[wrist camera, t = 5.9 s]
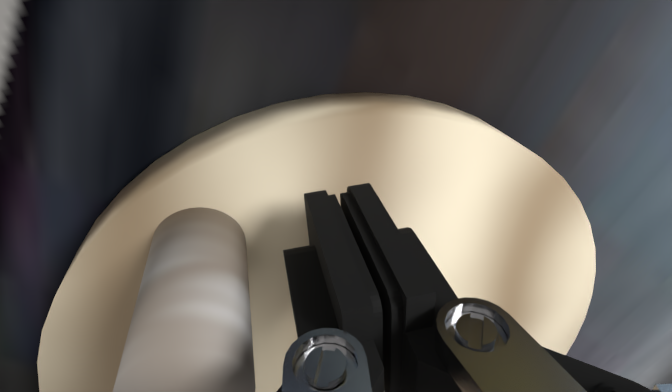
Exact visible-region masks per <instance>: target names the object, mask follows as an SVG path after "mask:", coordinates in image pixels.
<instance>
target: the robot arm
mask: <svg viewBox="0 0 672 392" xmlns="http://www.w3.org/2000/svg"><path fill="white" fill-rule="evenodd" d="M304 202H305V210H306V219H307V228H308V236H309V245H308V246H303V247H297V248H292V249H286V250H283V254H284V260H285V267H286V273H287V279H288V285H289V291H290V297H291V303H292V309H293V314H294V320H295V326H296V331H297V337H298V339H297V340H296V341H294V342H293V343H292V344H291V346H290V347H289V349H288V351H287V352H286V354H285V359H284V363H283V376H282V385H281V386H280V388H279V389H278V390H277V392H672V384H655V386H654V387H653V389H652V390H650V389H648V388H646V387H644V386H642V385H640V384H638V383H636V382H634V381H631V380H629V379H626V378H623V377H621V376H618V375H616V374H613V373H610V372H608V371H605V370H603V369H600V368H597V367H595V366H592V365H589V364H587V363H584V362H582V361H579V360H576V359H574V358H571V357H568V356H566V355H563V354H561V353H558V352H555V351H553V350H550V349H547V348H545V347H542V346H541V345H540V344H539V343H538V342H537V341H536V340H535V339H534V338H533V337H532V336H531V335H530V334H529V333H528V332H527V331H526V330H525V329H524V328H523V327H522V326H521V325H520V324H519V323H518V322H517V321H516V320H515V319H514V318H513V317H512V316H511V315H510V314H509V313H507V312H506V311H505V310H503V309H502V308H501V307H500V306H498V305H496V304H494V303H492V302H490V301H487V300H483V299H479V298H469V297H463V298H458V297H457V296H456V294H455V293H454V291H453V290H452V288H451V286H450V285H449V283H448V282H447V280H446V279H445V277H444V276H443V274H442V273H441V271H440V270H439V268H438V267H437V265H436V264H435V262H434V261H433V259H432V258H431V256H430V255H429V253H428V252H427V250H426V249H425V247H424V246H423V244H422V243H421V241H420V240H419V238H418V237H417V235H416V234H415V232H414V231H413V230H412V229H411V228H409V227H406V228H400V229H398V228H397V227H396V225H395V223H394V222H393V220H392V218H391V217H390V215H389V213H388V212H387V210H386V209H385V207H384V205H383V204H382V202H381V200H380V199H379V197H378V195H377V194H376V192H375V191H374V189H373V187H372V186H371V184H370V183H365V184H359V185H353V186H348V187H347V192H345V193H341V194H340V204H339V202H338V199H337V197H336V195H335V194H333V195H328V194H327V191H326V190H322V191H316V192H310V193H304ZM340 205H341V206H340Z"/></svg>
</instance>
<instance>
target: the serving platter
mask: <svg viewBox="0 0 672 392" xmlns="http://www.w3.org/2000/svg"><path fill="white" fill-rule="evenodd" d="M365 183H370V184H371V186H372V187H373V189H374V191H375V192H376V194H377V195H378V197H379V199H380V200H381V202H382V204H383V205H384V207H385V209H386V210H387V212H388V213H389V215H390V217H391V218H392V220H393V222H394V223H395V225H396V227H397V228H398V229H400V228H406V227H409V228H411V229H412V230H413V231H414V232H415V234H416V235H417V237H418V238H419V240H420V241H421V243H422V244H423V246H424V247H425V249H426V250H427V252H428V253H429V255H430V256H431V258H432V259H433V261H434V262H435V264H436V265H437V267H438V268H439V270H440V271H441V273H442V274H443V276H444V277H445V279H446V280H447V282H448V283H449V285H450V286H451V288H452V290H453V291H454V293H455V294H456V296H457V297H458V298H463V297H469V298H479V299H483V300H487V301H490V302H492V303H494V304H496V305H498V306H500V307H501V308H502V309H503V310H505V311H506V312H507V313H509V314H510V315H511V316H512V317H513V318H514V319H515V320H516V321H517V322H518V323H519V324H520V325H521V326H522V327H523V328H524V329H525V330H526V331H527V332H528V333H529V334H530V335H531V336H532V337H533V338H534V339H535V340H536V341H537V342H538V343H539V344H540V345H541V346H542V347H545V348H547V349H550V350H553V351H555V352H558V353H561V354H563V355H566V354H567V352H568V351H569V349H570V347H571V346H572V344H573V342H574V341H575V339H576V337H577V334H578V332H579V330H580V328H581V326H582V324H583V321H584V319H585V317H586V314H587V310H588V307H589V304H590V300H591V297H592V293H593V286H594V280H595V273H596V261H595V245H594V240H593V235H592V230H591V226H590V223H589V220H588V218H587V216H586V214H585V211H584V209H583V207H582V204H581V202H580V200H579V199H578V197H577V196H576V195H575V193H574V192H573V190H572V189H571V188H570V186H569V185H568V184H567V182H566V181H565V179H564V178H563V177H562V176H561V175H559V174H558V173H557V172H556V171H555V170H554V169H553V168H552V167H551V166H550V165H549V164H548V163H546V162H545V161H544V160H543V159H542V158H541V157H539V156H538V155H536V154H535V153H533V152H531V151H530V150H528V149H527V148H525V147H524V146H522V145H521V144H519V143H518V142H516V141H515V140H513V139H512V138H510V137H508V136H507V135H505V134H504V133H502V132H501V131H499V130H497V129H496V128H494V127H492V126H491V125H489V124H488V123H486V122H484V121H483V120H481V119H479V118H478V117H476V116H473V115H471V114H468V113H466V112H463V111H461V110H458V109H456V108H454V107H451V106H449V105H446V104H443V103H438V102H434V101H430V100H425V99H421V98H417V97H412V96H408V95H396V94H384V93H372V92H360V93H342V94H323V95H318V96H313V97H307V98H302V99H297V100H291V101H286V102H281V103H277V104H274V105H270V106H267V107H264V108H261V109H258V110H255V111H252V112H249V113H246V114H243V115H239V116H236V117H234V118H231V119H229V120H227V121H225V122H223V123H221V124H219V125H217V126H215V127H212V128H210V129H208V130H206V131H204V132H202V133H200V134H198V135H195V136H193V137H192V138H190V139H188V140H187V141H185V142H184V143H182V144H181V145H179V146H178V147H176V148H174V149H173V150H171V151H170V152H168V153H167V154H165V155H164V156H162V157H161V158H159V159H157V160H156V161H154V162H153V163H152V164H151V165H150V166H149V167H147V168H146V169H145V170H144V171H143V172H142V173H141V174H139V175H138V176H137V177H136V178H135V179H134V180H132V181H131V182H130V183H129V184H128V185H127V186H125V187H124V188H123V189H122V190H121V191H120V193H119V194H118V195H117V196H116V197H115V198H114V200H113V201H112V202H111V203H110V204H109V205H108V207H107V208H106V209H105V210H104V211H103V212H102V214H101V215H100V216H99V217H98V218H97V219H96V221H95V223H94V224H93V226H92V228H91V229H90V231H89V233H88V234H87V236H86V238H85V239H84V241H83V243H82V244H81V246H80V248H79V249H78V251H77V253H76V255H75V257H74V259H73V261H72V263H71V265H70V267H69V269H68V271H67V273H66V275H65V277H64V279H63V281H62V283H61V285H60V287H59V289H58V291H57V293H56V295H55V297H54V299H53V302H52V305H51V308H50V310H49V313H48V316H47V318H46V321H45V324H44V326H43V329H42V333H41V340H40V347H39V354H38V361H37V367H38V380H39V392H277V390H278V389H279V388H280V386H281V385H282V376H283V363H284V359H285V354H286V352H287V351H288V349H289V347H290V346H291V344H292V343H293V342H294V341H296V340H297V339H298V337H297V331H296V326H295V320H294V314H293V309H292V303H291V297H290V291H289V285H288V279H287V273H286V267H285V260H284V254H283V250H286V249H292V248H297V247H303V246H308V245H309V236H308V228H307V219H306V210H305V202H304V193H310V192H316V191H322V190H326V191H327V194H328V195H333V194H335V195H336V197H337V199H338V202H339V204H340V194H341V193H345V192H347V187H348V186H353V185H359V184H365ZM340 206H341V205H340Z"/></svg>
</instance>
